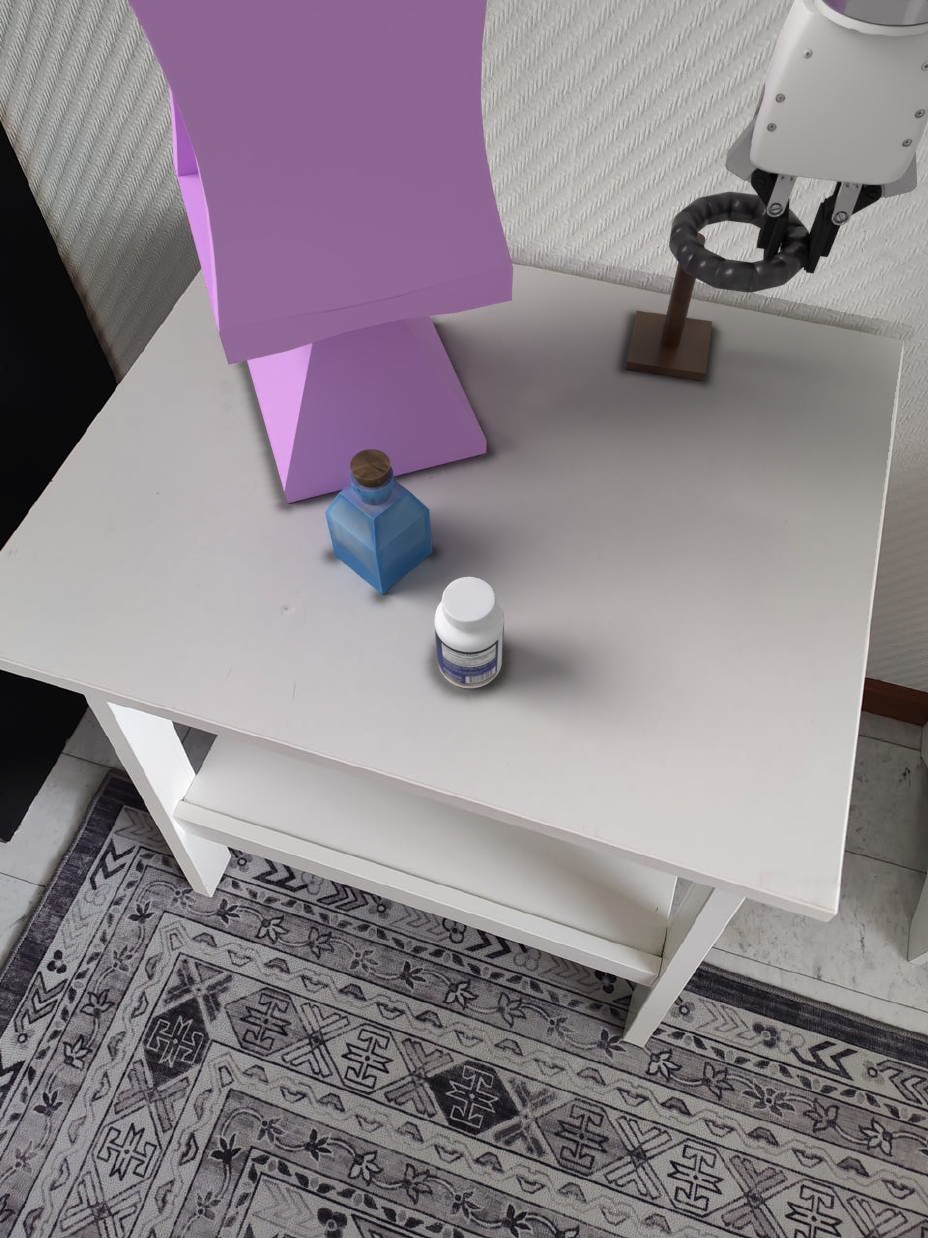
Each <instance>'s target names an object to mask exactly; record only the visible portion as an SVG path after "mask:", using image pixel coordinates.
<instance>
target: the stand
mask: <svg viewBox="0 0 928 1238" xmlns="http://www.w3.org/2000/svg"><path fill="white" fill-rule="evenodd" d="M698 239H699V240H700V241H701V243H702V244H703V246H704V247H705V244H706V241H707V239H706V236H705V235H704V234H702V233H700V232H698ZM674 275H675V276H674V279H673V284H672V288H671V292H670V293H671V294H670V297H669V301H668V305H667V310H666V314H665V313H657V312H650V311H644V310H636V312H635V318H634V324H633V328H632V333H631V338H630V344H629V349H628V353H627V359H626V364H625V369H626V370H630V371H631V370H632V371H637V372H643V373H652V374H656V375H663V376H671V377H678V378H683V379H690V380H697V381H705V377H706V373H707V367H708V359H709V351H710V344H711V335H712V328H713V327H712V326H713V320H706V319H699V318H692V317H687V316H688V312H689V309H690V304H691V300H692V298H693V297H692V296H693V292H694V289H695V284H696V281H697V279H696V278H695V277H693V276H691V275H689V274H687V273H686V272H685V271H684V270H683V268H682V267H681V265H680V264H679V262H678V261H677V265H676V270H675V274H674Z"/></svg>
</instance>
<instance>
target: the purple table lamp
mask: <svg viewBox="0 0 928 1238" xmlns="http://www.w3.org/2000/svg"><path fill="white" fill-rule="evenodd" d="M127 1H128V3H129V5H130V6H131V9H132V11H133V13H134V14H135V16H136V18H137V20H138V22H139V24H140V26H141V28H142V31H143V32H144V34H145V36H146V38H147V41H148V43H149V45H150V47H151V49H152V51H153V53H154V56H155V57H156V59H157V62H158V64H159V66H160V68H161V70H162V72H163V75H164V77H165V80H166V82H167V84H168V91H169V101H170V114H171V127H172V128H171V132H172V133H171V134H172V156H173V157H172V163H173V166H174V170H175V174H176V177H177V181H178V185H179V189H180V192H181V197H182V200H183V204H184V208H185V211H186V215H187V218H188V222H189V226H190V230H191V234H192V238H193V241H194V245H195V249H196V253H197V256H198V260H199V264H200V267H201V271H202V275H203V278H204V283H205V287H206V290H207V294H208V298H209V302H210V306H211V310H212V314H213V318H214V321H215V324H216V325H215V326H216V328H217V333H218V335H219V339H220V342H221V345H222V348H223V352H224V354H225V358H226V362H227V365H233V364H237V363H242V362H247V365H248V369H249V372H250V376H251V380H252V382H253V386H254V390H255V394H256V397H257V400H258V401H257V402H258V404H259V407H260V411H261V415H262V418H263V422H264V426H265V430H266V433H267V436H268V439H269V444H270V446H271V450H272V454H273V457H274V461H275V464H276V468H277V472H278V474H279V478H280V481H281V485H282V489H283V492H284V496H285V499H286V500H285V501H286V503H287V504H292V503H295V502H299V501H303V500H307V499H311V498H315V497H318V496H323V495H327V494H331V493H334V492H338V491H339V492H340V491H342V490H344V489H345V488H346V487H347V486H349V485H350V484H351V480H350V472H351V468H350V462H351V460H352V458H353V457H354V456H355V455H356V454H357V453H359V452H360V451H363V450H367V449H376V450H380V451H382V452H384V453H385V454H386V455H387V456H388V457H389V460H390V466H391V467H392V470H393V473H394V477H398V476H401V475H406V474H409V473H413V472H417V471H421V470H425V469H428V468H433V467H437V466H440V465H441V466H442V465H445V464H449V463H452V462H456V461H460V460H464V459H468V458H472V457H476V456H481V455H484V454H487V439H486V436H485V435H484V432H483V430H482V428H481V426H480V423H479V421H478V419H477V416H476V414H475V412H474V410H473V408H472V406H471V404H470V401H469V400H468V396H467V395H466V393H465V390H464V388H463V386H462V383H461V382H460V379H459V378H458V375H457V373H456V371H455V368H454V366H453V363H452V361H451V360H450V357H449V355H448V353H447V351H446V349H445V347H444V345H443V343H442V342H443V341H442V340H441V338H440V336H439V333H438V331H437V329H436V326H435V324H434V322H433V320H432V318H431V317H433V316H434V317H435V316H443V315H449V314H457V313H458V314H459V313H462V312H466V311H470V310H476V309H479V308H485V307H488V306H493V305H498V304H501V303H507V302H510V301H511V302H512V300H513V281H514V280H513V278H514V266H513V262H512V257H511V254H510V249H509V246H508V243H507V240H506V235H505V232H504V229H503V224H502V221H501V217H500V213H499V208H498V205H497V200H496V196H495V192H494V188H493V182H492V176H491V171H490V165H489V159H488V155H487V149H486V143H485V142H486V140H485V130H484V119H483V108H482V69H483V65H482V64H483V46H484V45H483V43H484V36H485V35H484V33H485V25H486V15H487V6H488V0H127Z"/></svg>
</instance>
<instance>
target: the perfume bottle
mask: <svg viewBox="0 0 928 1238" xmlns="http://www.w3.org/2000/svg"><path fill="white" fill-rule="evenodd" d="M350 468H351V472H350V480H351V484H350V485H349V486H347V487H346V488H345V489H343V490H340V491H339V493H338V494H337V495H336V496H335V498H334V499H333V500H332V501H331V503H330V505H328V507H327V509H326V510H325V511H324V515H325V518H326V523H327V528H328V532H329V536H330V540H331V544H332V549H333V554H334V556H335V557H337V558H338V559H339V560H340V561H341V562H342V563H344V564H345V565H346V566H347V567H348V568H349V569H351V570H352V571H353V572H355V573H356V574H357V575H358V576H360V577H361V578H362V580H364V581H365V582H366V583H367V584H369V586H371V587H372V588H374V589H375V590H376V591H377V592H378V593H380V594H381V595H382V596H383V595H384V594H385V593H387V592H388V591H389V590H390V589H391V588H392V587H394V586H395V585H396V584H398V582H399V581H401V580H402V579H403V578H405V576H407V575H408V574H409V573H410V572H411V571H413V570H414V569H415V568H416V567H417V566H418V565H419V564H421V563H422V562H423V561H424V560H425V559H426V558H428V557H429V556H430V555H432V554H433V542H432V541H433V540H432V529H431V528H432V527H431V511H430V508H428V506H427V505H426V504H424V502H422V500H420V499H419V498H418V497H416V495H414V494H413V493H412V492H411V491H410V490H409V489H408V488H406V487H405V486H403V485H402V484H401V483H400V482H398V481H397V480H395V476H394V473H393V470H392V467H391V466H390V460H389V457H388V456H387V455H386V454H385V453H384V452H382V451H380V450H376V449H367V450H363V451H360V452H359V453H357V454H356V455H355V456H354V457H353V458H352V460H351V462H350Z"/></svg>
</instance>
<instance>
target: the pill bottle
mask: <svg viewBox="0 0 928 1238" xmlns="http://www.w3.org/2000/svg"><path fill="white" fill-rule="evenodd" d="M504 615H505V614H504V611H503V608H502V606H501V604H500V603H499V601H498V599H496V594H495V591H494V589H493V588H492V586H491V585H490V584H489V583H488V582H487V581H485V580H484V579H482V578H480V577H474V576H463V577H459V578H457V579H454V580H453V581H451V582H449V584H448V585H447V586H445V589H444V590H443V593H442V597H441V600H440V602H439V603H438V605H437V608H436V610H435V613H434V635H435V645H436V657H437V663H438V668H439V671H440V672H441V674H442V676H443V677H444V678H445V680H447V681H448V682H450V683H451V684H453V685H454V686H457V687H460V688H464V689H477V688H481V687H484V686H486V685H489V684H490V683H491V682H493V680H494V679H496V677H497V676H498V674H499V673H500V671H501V668H502V665H503V657H504V634H505V633H504V632H505V616H504Z"/></svg>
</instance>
